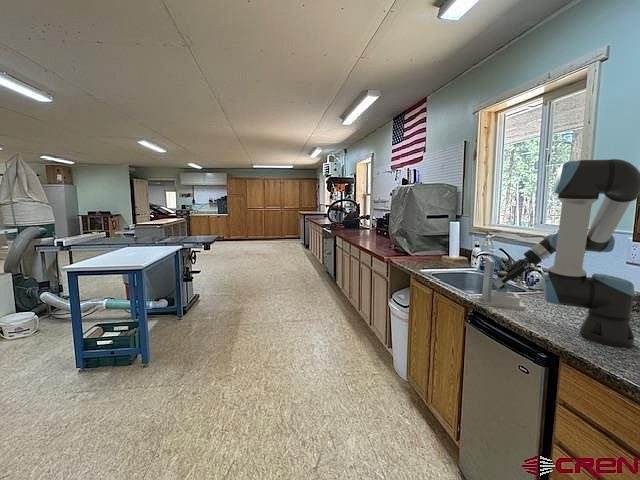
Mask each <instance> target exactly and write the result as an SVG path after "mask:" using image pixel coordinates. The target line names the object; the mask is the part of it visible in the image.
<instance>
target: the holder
mask: <svg viewBox="0 0 640 480" xmlns="http://www.w3.org/2000/svg"><path fill="white" fill-rule="evenodd" d="M494 269H495V261H494V260H493V259H492V258H491V257H490V256H485V258H484V271H483V280H482V281H483V282H482V291H481V293H482V295H481V297H482V298H483V300H484V303H485V305H486V306H488V307H495V306H496V307H497V308H503V307H504V308H505V309H513V310H522V311H523V310H524V311H525V310H526V305H524V304H523V303H522V301H521V298H520V296H519V295H518V294H517V293H516V292H512V291H511V292H507V293H505V292H497V291H496V290H493V280H494Z"/></svg>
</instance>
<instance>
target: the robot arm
mask: <svg viewBox="0 0 640 480" xmlns="http://www.w3.org/2000/svg"><path fill="white" fill-rule="evenodd" d="M553 193H554V194H557V199H558V200H559V201H560V202H561V208H560V209H561V210H560V216H559V226H558V228H557V229H556V230H553V231H552V232H551V233H550V234H548V235H547V236H546V237H545V238H543V239H542V240H541V241H539V242H537V243H536V244H535V245H533V246H532V247H531V249H528V250H527V251H525V252H523V256H524V258H523V259H522V258H521V259H518V260H517V261H516V262H515V263H513V264H511V265H509V267H507V268H506V269H504V270H503V272H507V274H508V275H507V274H506V276H507V277H506V276H504V277H503V278H500V280H499V277H496V278H494V279H493V281H492V283H493V284H494V285H495V286H496V288H497V287H498V288H500V287H501V286H502V285H504V284H505V283H506V284H507V283H508V282H509V281H511V280H512V281H513V280H515V279H516V278H517V277H519V276H521V275H522V274H524V272H526V271H527V270H529V269H530V268H531V265H534V266H537V265H539V264H541V262H542V261H544V260H546V259H550V256H551V255H553V254H554V253H555V256H554V262H553V265H552V266H550V267H549V268H548V272H547V271H546V272H543V273H542V290H543V295H544V300H545V301H546V302H547V303H548V304H553V305H558V306H567V307H575V308H581V309H582V308H583V309H587V316H586V317H585V318H584V320H583V322H582V323H581V326H580V327H579V334H580V336H582V337H583V338H585V339H587V340H590V341H592V342H595V343H598V344H603V345H607V346H612V347H618V348H619V347H620V348H632V347H633V346H635V345H634V344H635V335H634V332H633V329H632V326H631V315H632V310H633V309H632V307H633V302H634V296H635V285H634V283H633V282H631V281H629V280H627V279H624V278H622V277H621V278H620V277H617V276H613V275H607V274H603V273H597V272H596V273H593V274H592V275H591V276H587V275H588V274H587V271H586V270H584V269H583V267H584V266H583V265H584V259H585V253H586V252H596V253H610V252H612V251H613V250H614V247H615V244H616V243H615V237H614V236H613V234H614V232H615V231H616V229H617V228H618V225H619V224H620V222H621V220H622V218H623V217H624V214H625V213H626V212H627V209H628V208H629V206H630V204H631V203H632V202H633V201H636V199H638V197H639V196H640V170H639V169H638V168H637V167H636V166H635V165H634V164H632V163H631V162H628V161H626V160H624V159H618V158H617V159H616V158H610V159H576V160H567V161H564V162H563V163H562V164H561V165H560V166H559V168H558V170H557V172H556V175H555V179H554V184H553ZM600 194H604V197H603V199H602V201H601V203H600V206H599V207H598V209H597V211H596V213H595V216H594V218H593V220H592V223H591V224H590V219H591V214H592V213H591V212H592V205H593V204H594V203H595V202H596V201H598V200H599V199H600V197H599V196H600ZM589 226H590V227H589Z"/></svg>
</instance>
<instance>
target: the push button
mask: <svg viewBox="0 0 640 480" xmlns="http://www.w3.org/2000/svg"><path fill="white" fill-rule="evenodd" d="M496 274H497V277H499V280H500V278H503V277H504V276H506V274H507V272H504V270H502V271H501V270H500V271H499V272H497V273H496ZM507 275H508V274H507ZM497 277H496V278H497ZM506 277H507V276H506ZM495 291H497V292H505V293H507V292H512V290H511V289H509V288H508V285H507V283H505V284H504V285H502V286H501V287H500V288H498V287H497V286H496V289H495Z"/></svg>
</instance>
